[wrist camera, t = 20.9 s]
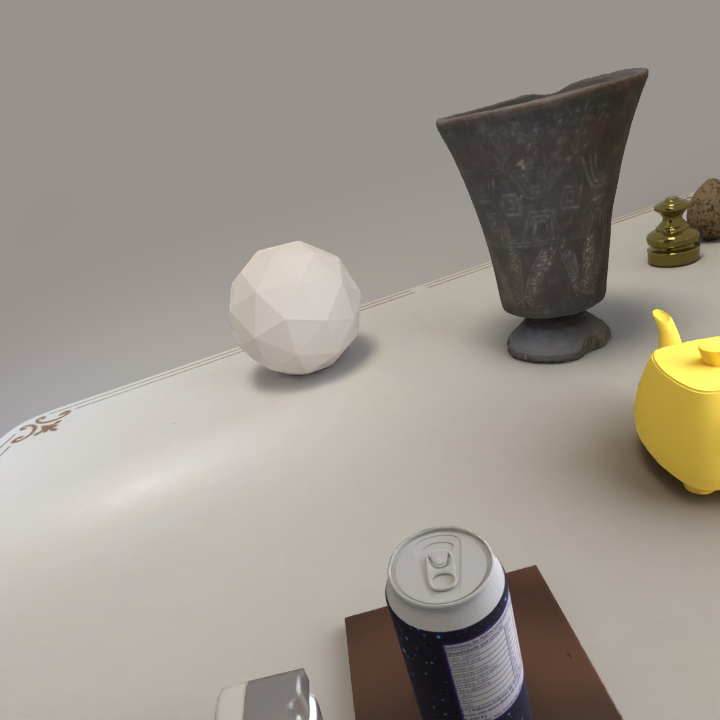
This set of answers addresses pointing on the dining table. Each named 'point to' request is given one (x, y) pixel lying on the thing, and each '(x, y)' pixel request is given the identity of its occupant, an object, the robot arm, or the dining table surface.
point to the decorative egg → (706, 210)
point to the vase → (549, 204)
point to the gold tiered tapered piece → (673, 236)
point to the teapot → (682, 407)
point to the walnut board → (537, 647)
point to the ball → (294, 308)
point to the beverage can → (456, 627)
